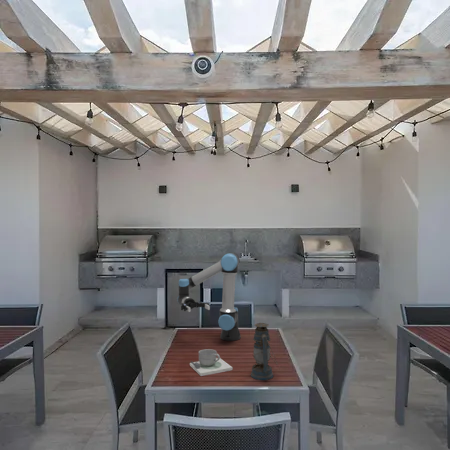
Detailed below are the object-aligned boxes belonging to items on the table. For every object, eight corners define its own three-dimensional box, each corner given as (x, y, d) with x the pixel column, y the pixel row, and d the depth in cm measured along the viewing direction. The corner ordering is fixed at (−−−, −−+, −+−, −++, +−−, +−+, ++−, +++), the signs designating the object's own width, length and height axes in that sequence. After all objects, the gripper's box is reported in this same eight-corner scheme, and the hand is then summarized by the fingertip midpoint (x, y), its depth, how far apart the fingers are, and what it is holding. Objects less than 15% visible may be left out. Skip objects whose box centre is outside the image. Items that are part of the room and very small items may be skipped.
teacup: (194, 364, 229) (194, 351, 229) (208, 360, 237) (207, 347, 237) (211, 370, 219) (211, 356, 219) (224, 365, 227) (224, 352, 227)
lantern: (247, 369, 225) (246, 319, 225) (270, 368, 227) (270, 317, 227) (255, 383, 206) (254, 327, 206) (280, 381, 208) (280, 326, 208)
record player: (219, 360, 241) (219, 353, 241) (232, 370, 225) (232, 363, 225) (189, 365, 233) (189, 358, 233) (200, 376, 216) (200, 369, 216)
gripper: (204, 306, 277) (216, 312, 257) (171, 310, 266) (181, 316, 247) (204, 296, 277) (216, 301, 257) (171, 299, 266) (181, 305, 247)
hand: (199, 308), depth 252 cm, fingers open, 13 cm apart
